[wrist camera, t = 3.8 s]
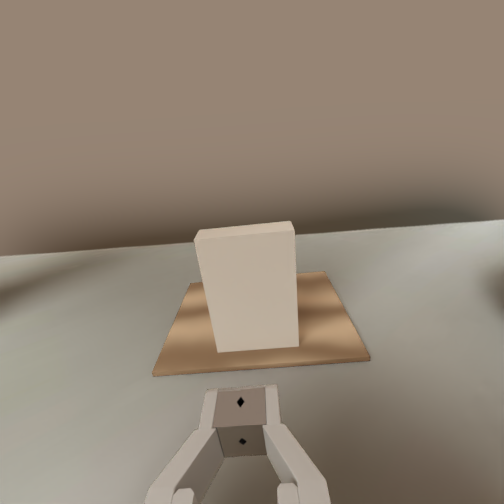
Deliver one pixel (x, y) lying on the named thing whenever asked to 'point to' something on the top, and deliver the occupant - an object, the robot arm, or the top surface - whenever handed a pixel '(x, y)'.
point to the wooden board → (308, 353)
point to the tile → (250, 285)
